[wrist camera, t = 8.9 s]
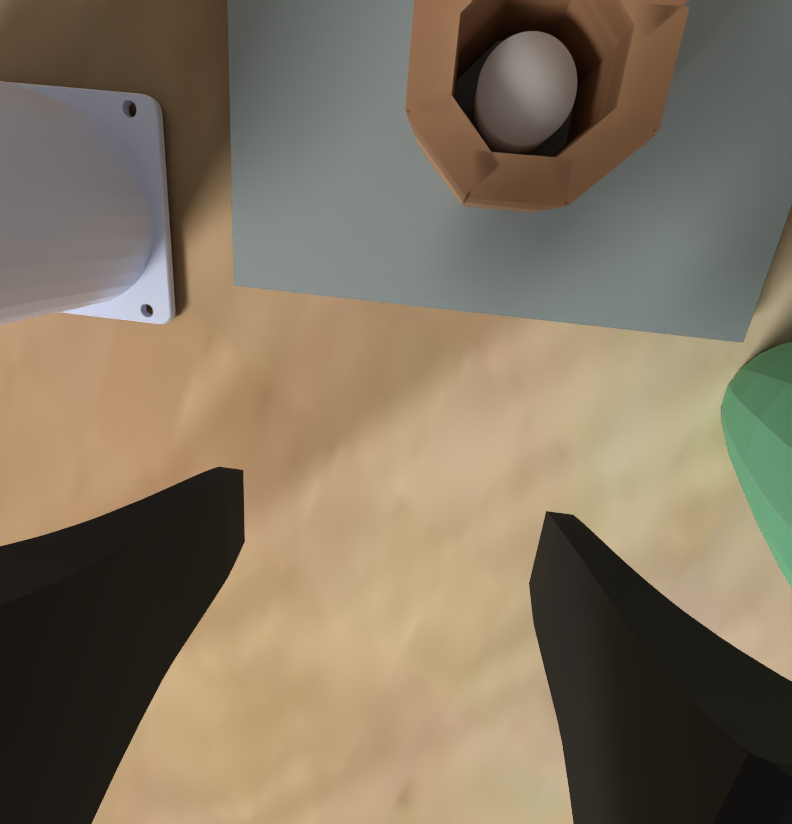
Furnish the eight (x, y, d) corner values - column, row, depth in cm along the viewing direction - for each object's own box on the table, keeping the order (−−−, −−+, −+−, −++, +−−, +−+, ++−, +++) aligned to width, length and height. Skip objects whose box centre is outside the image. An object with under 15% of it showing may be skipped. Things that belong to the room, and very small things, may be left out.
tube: (413, 201, 16) (398, 191, 12) (432, -6, 14) (423, -117, 10) (583, 217, 16) (638, 213, 11) (628, 6, 14) (716, -104, 9)
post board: (249, 281, 19) (185, 298, 15) (244, -120, 15) (152, -274, 10) (720, 333, 18) (813, 370, 14) (860, -84, 14) (1066, -240, 9)
